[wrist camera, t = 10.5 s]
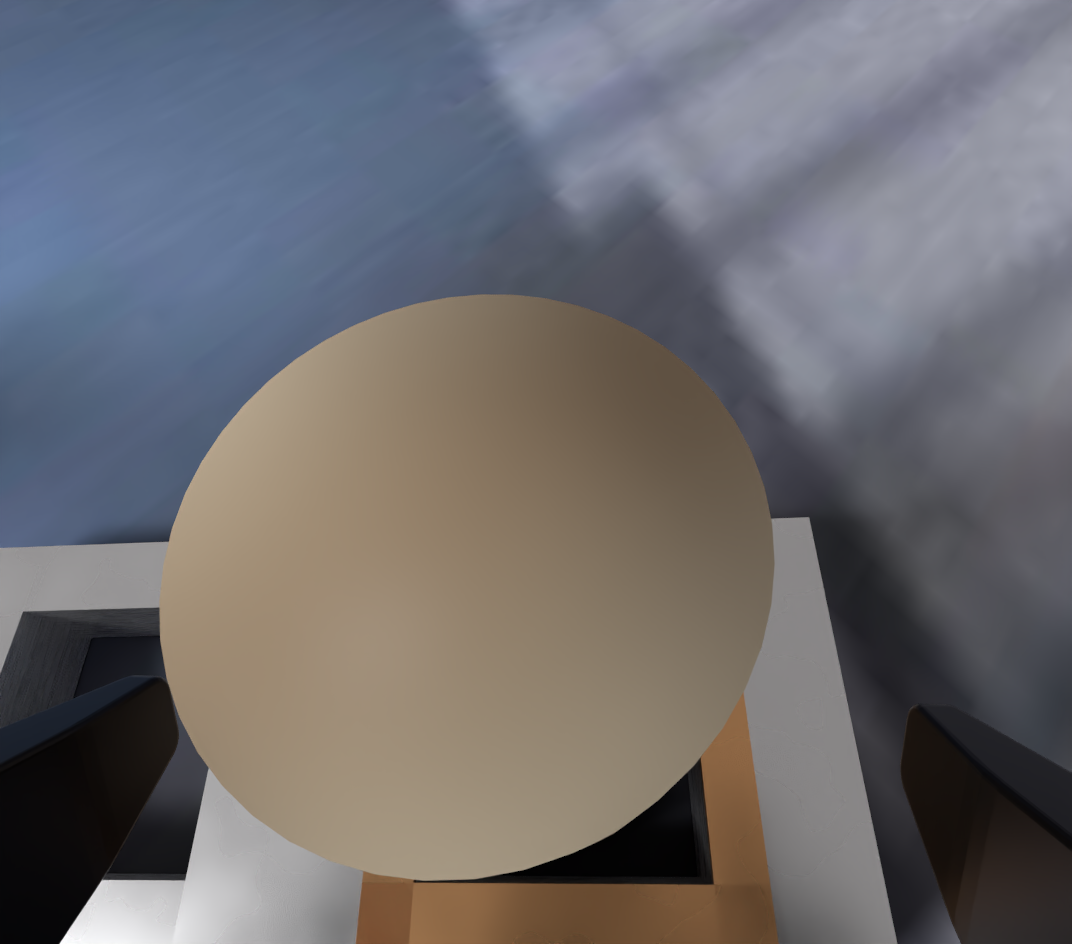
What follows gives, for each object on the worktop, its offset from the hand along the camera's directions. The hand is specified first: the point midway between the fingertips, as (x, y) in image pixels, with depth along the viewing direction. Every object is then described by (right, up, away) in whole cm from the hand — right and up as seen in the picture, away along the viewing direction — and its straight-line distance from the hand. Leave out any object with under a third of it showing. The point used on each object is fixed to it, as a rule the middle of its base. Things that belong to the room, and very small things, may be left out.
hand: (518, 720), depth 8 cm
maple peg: (+1, -3, +8) cm, 9 cm away
